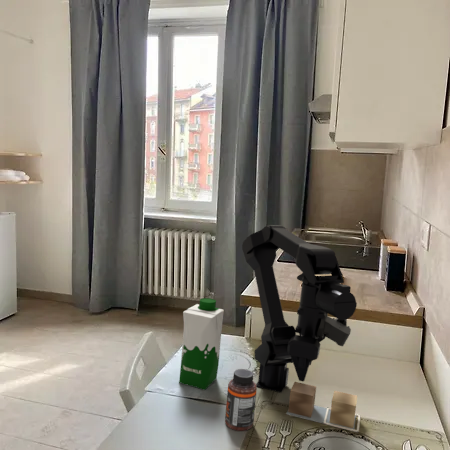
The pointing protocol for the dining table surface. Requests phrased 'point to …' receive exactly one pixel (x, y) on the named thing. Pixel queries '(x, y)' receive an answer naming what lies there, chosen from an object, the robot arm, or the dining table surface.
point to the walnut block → (302, 399)
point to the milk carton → (201, 344)
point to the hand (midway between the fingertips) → (305, 372)
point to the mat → (319, 416)
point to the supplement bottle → (241, 401)
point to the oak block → (343, 409)
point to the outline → (341, 426)
